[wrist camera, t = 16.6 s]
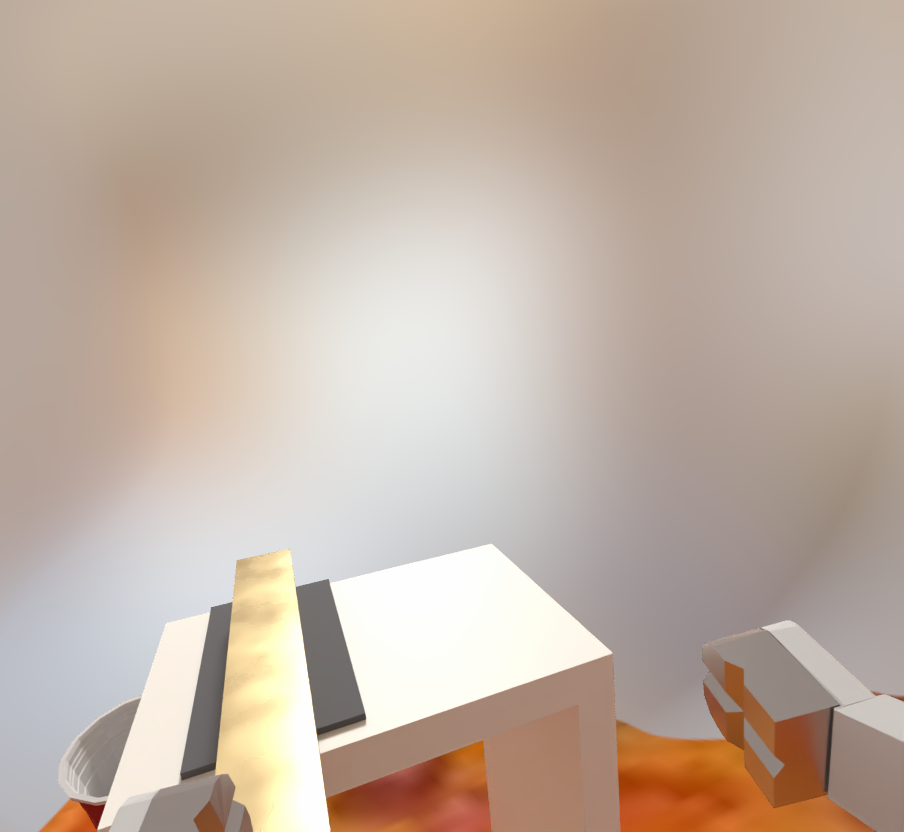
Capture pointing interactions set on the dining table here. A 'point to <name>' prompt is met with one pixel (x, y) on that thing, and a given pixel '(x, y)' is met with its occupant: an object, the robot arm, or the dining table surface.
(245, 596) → the light wood bar
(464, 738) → the white upright block
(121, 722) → the plastic cup
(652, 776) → the dining table surface
